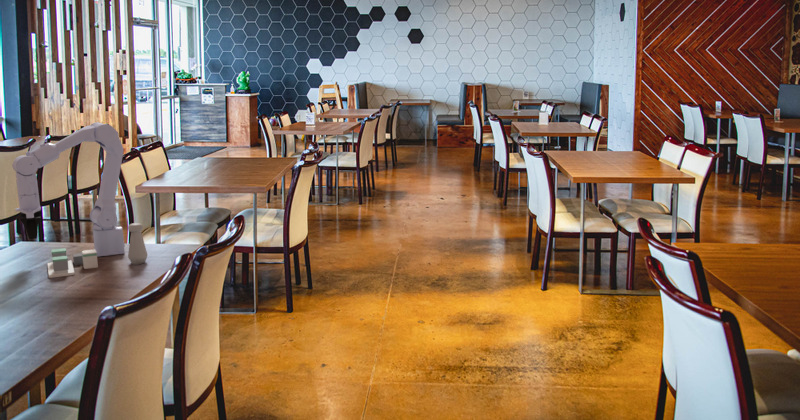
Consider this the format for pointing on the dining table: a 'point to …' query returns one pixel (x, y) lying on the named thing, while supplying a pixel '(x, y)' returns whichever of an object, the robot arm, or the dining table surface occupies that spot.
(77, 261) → the relay
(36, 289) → the dining table surface
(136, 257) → the salt shaker
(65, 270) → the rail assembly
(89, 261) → the block
